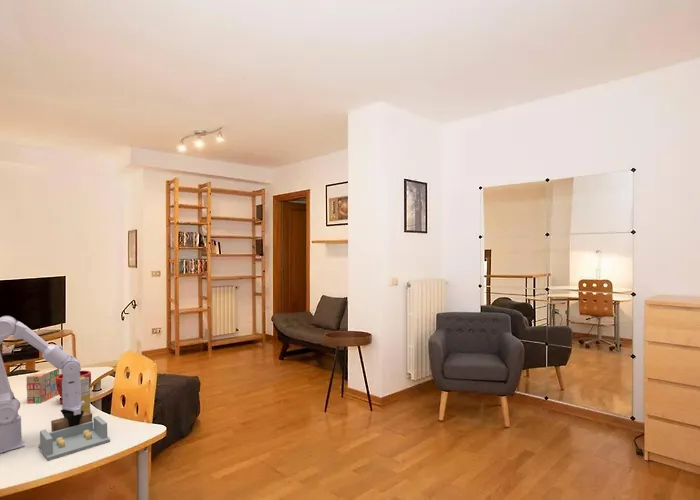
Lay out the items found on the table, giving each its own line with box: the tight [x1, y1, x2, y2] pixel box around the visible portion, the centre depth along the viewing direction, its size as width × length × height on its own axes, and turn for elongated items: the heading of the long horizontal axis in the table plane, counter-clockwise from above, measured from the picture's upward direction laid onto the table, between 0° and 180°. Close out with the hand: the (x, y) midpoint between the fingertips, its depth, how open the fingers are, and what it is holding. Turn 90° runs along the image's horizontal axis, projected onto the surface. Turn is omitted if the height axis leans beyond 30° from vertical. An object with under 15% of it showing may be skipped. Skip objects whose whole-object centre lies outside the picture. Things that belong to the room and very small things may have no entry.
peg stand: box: [37, 415, 111, 462], centre depth 149 cm, size 18×14×6 cm
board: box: [50, 410, 93, 432], centre depth 158 cm, size 12×4×6 cm, turn 136°
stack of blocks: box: [26, 367, 62, 404], centre depth 201 cm, size 21×6×12 cm, turn 178°
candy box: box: [80, 375, 91, 412], centre depth 177 cm, size 9×4×15 cm, turn 60°
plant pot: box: [56, 370, 92, 404], centre depth 193 cm, size 13×13×12 cm
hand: (72, 429), depth 158 cm, fingers closed on board, 4 cm apart
